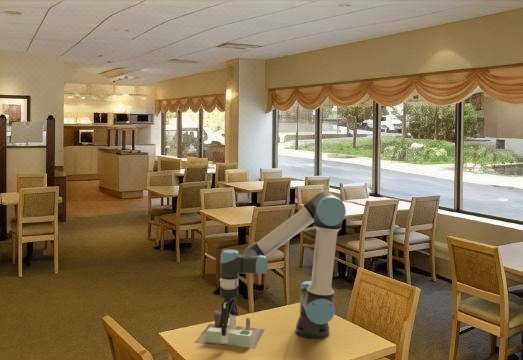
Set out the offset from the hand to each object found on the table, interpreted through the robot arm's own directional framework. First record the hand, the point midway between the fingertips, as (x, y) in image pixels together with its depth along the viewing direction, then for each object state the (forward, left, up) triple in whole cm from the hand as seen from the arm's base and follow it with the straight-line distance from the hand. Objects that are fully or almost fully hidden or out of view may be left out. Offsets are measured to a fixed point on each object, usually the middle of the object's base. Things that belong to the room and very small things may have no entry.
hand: (228, 336), depth 227 cm
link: (-1, 0, -3) cm, 3 cm away
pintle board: (+1, -7, -4) cm, 8 cm away
